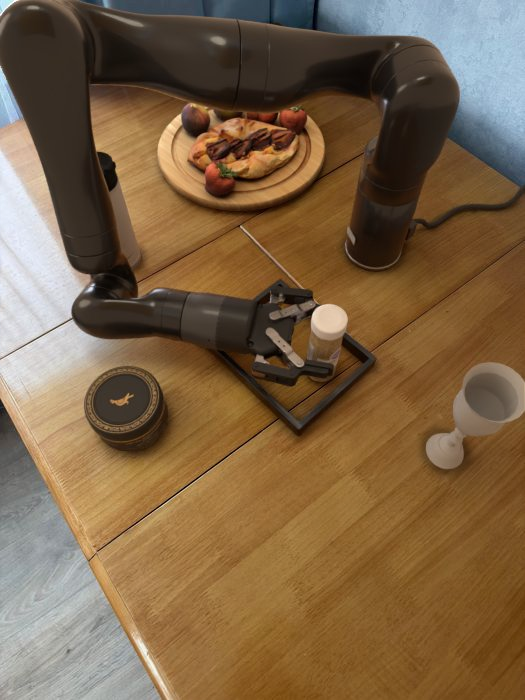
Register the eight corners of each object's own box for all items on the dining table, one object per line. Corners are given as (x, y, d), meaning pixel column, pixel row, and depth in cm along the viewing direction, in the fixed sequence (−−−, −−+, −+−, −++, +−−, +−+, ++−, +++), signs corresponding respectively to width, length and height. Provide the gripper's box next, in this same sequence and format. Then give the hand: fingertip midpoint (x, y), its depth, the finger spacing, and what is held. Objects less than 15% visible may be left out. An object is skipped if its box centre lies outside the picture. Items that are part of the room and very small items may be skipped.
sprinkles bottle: (327, 388, 76) (338, 338, 64) (299, 374, 77) (305, 323, 66) (341, 364, 78) (354, 311, 67) (313, 351, 79) (321, 297, 68)
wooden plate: (269, 240, 91) (270, 204, 83) (124, 173, 99) (113, 135, 92) (353, 137, 104) (360, 98, 97) (219, 86, 113) (216, 47, 106)
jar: (185, 422, 73) (177, 398, 67) (127, 472, 70) (113, 451, 63) (141, 377, 77) (130, 350, 70) (83, 421, 73) (66, 397, 67)
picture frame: (279, 287, 85) (280, 278, 83) (374, 366, 78) (377, 358, 76) (203, 345, 80) (202, 336, 78) (297, 436, 72) (298, 429, 70)
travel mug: (136, 277, 86) (105, 181, 69) (98, 271, 87) (58, 174, 70) (148, 249, 90) (121, 150, 72) (111, 243, 90) (75, 144, 73)
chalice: (436, 416, 74) (482, 350, 58) (480, 446, 72) (540, 385, 56) (408, 455, 71) (449, 397, 55) (453, 487, 69) (509, 436, 53)
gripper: (204, 352, 66) (333, 375, 64) (230, 265, 73) (348, 284, 71) (209, 380, 72) (327, 402, 70) (233, 297, 79) (341, 315, 77)
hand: (337, 342), depth 71 cm, fingers open, 8 cm apart
